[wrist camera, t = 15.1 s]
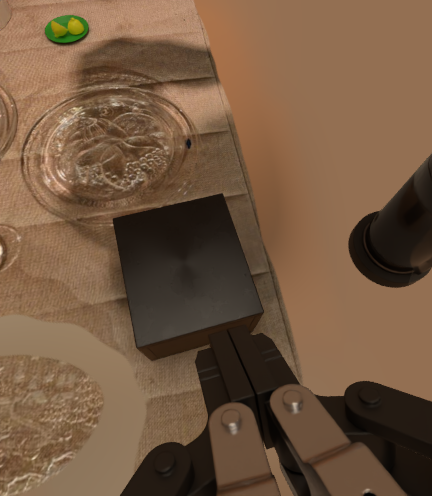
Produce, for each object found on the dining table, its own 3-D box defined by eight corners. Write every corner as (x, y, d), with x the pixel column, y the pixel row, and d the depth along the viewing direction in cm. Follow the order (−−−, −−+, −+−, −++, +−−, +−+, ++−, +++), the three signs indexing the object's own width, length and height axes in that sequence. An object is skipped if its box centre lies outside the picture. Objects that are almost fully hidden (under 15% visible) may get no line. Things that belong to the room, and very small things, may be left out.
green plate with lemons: (64, 52, 64) (58, 37, 61) (37, 32, 66) (30, 17, 63) (98, 31, 67) (93, 16, 64) (71, 13, 69) (65, -3, 66)
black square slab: (113, 221, 39) (112, 218, 39) (222, 196, 41) (222, 192, 40) (138, 349, 34) (136, 348, 33) (263, 314, 35) (264, 312, 35)
